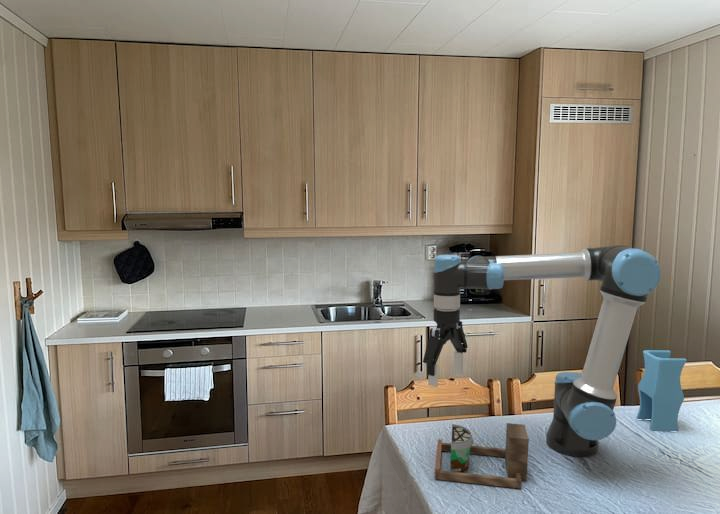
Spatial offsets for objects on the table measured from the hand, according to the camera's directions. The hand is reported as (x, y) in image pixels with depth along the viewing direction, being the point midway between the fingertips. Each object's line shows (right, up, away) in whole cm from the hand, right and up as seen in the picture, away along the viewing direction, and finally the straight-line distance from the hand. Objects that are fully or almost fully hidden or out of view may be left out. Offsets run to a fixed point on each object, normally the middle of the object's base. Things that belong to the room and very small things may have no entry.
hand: (446, 379), depth 150 cm
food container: (+4, -25, -2) cm, 25 cm away
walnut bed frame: (+9, -24, -4) cm, 26 cm away
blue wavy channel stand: (+77, -22, +25) cm, 84 cm away
